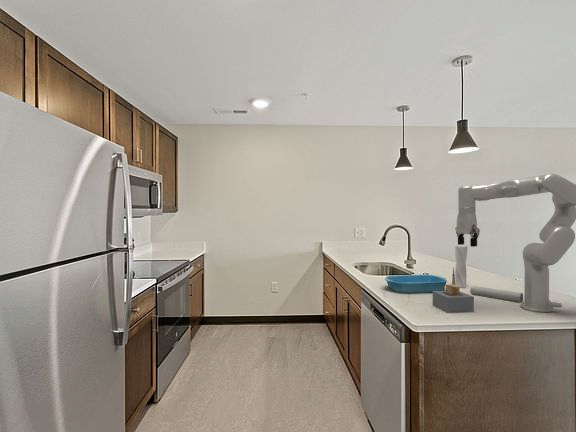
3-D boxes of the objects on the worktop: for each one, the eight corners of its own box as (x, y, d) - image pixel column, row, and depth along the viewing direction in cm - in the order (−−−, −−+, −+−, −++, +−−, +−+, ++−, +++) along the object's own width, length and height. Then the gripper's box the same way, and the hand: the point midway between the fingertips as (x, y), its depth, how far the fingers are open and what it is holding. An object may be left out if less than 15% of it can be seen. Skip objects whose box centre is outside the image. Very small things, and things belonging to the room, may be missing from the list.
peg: (454, 304, 165) (454, 284, 165) (459, 307, 161) (459, 286, 161) (445, 305, 165) (445, 284, 165) (450, 307, 161) (450, 286, 161)
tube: (467, 287, 190) (519, 295, 171) (471, 283, 193) (522, 290, 174) (469, 296, 191) (520, 305, 172) (472, 291, 194) (523, 300, 175)
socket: (456, 304, 170) (456, 290, 170) (473, 311, 157) (473, 296, 157) (432, 305, 169) (432, 291, 169) (447, 312, 156) (447, 297, 156)
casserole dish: (393, 295, 190) (393, 282, 190) (379, 286, 212) (378, 275, 212) (455, 293, 194) (455, 280, 194) (434, 284, 216) (434, 273, 216)
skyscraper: (454, 284, 216) (454, 241, 215) (468, 286, 211) (468, 242, 211) (451, 287, 209) (451, 242, 209) (466, 289, 204) (466, 243, 204)
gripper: (449, 211, 175) (449, 244, 175) (471, 211, 158) (471, 247, 158) (462, 211, 176) (463, 243, 176) (486, 210, 159) (486, 247, 159)
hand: (467, 245), depth 167 cm, fingers open, 9 cm apart
